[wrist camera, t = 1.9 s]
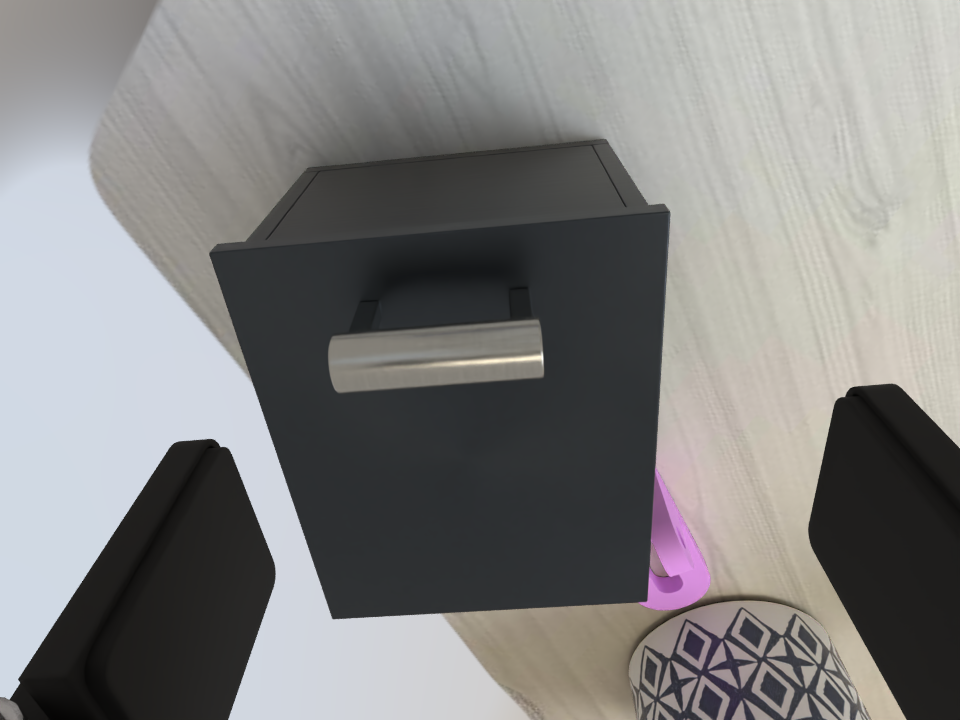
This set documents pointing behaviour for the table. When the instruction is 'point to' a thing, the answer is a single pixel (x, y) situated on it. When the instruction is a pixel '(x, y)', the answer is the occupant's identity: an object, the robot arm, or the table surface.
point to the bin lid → (463, 404)
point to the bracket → (674, 557)
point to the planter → (742, 667)
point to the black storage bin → (452, 190)
